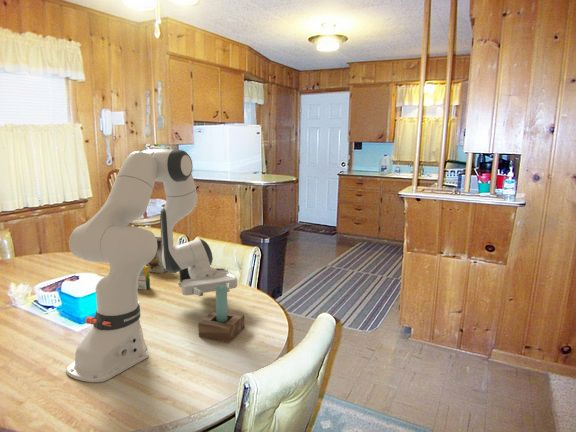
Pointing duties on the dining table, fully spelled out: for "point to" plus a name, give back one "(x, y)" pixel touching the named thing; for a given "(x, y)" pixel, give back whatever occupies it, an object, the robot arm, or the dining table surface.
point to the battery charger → (184, 274)
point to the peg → (221, 304)
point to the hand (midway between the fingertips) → (214, 292)
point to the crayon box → (144, 279)
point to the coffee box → (157, 259)
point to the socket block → (221, 327)
